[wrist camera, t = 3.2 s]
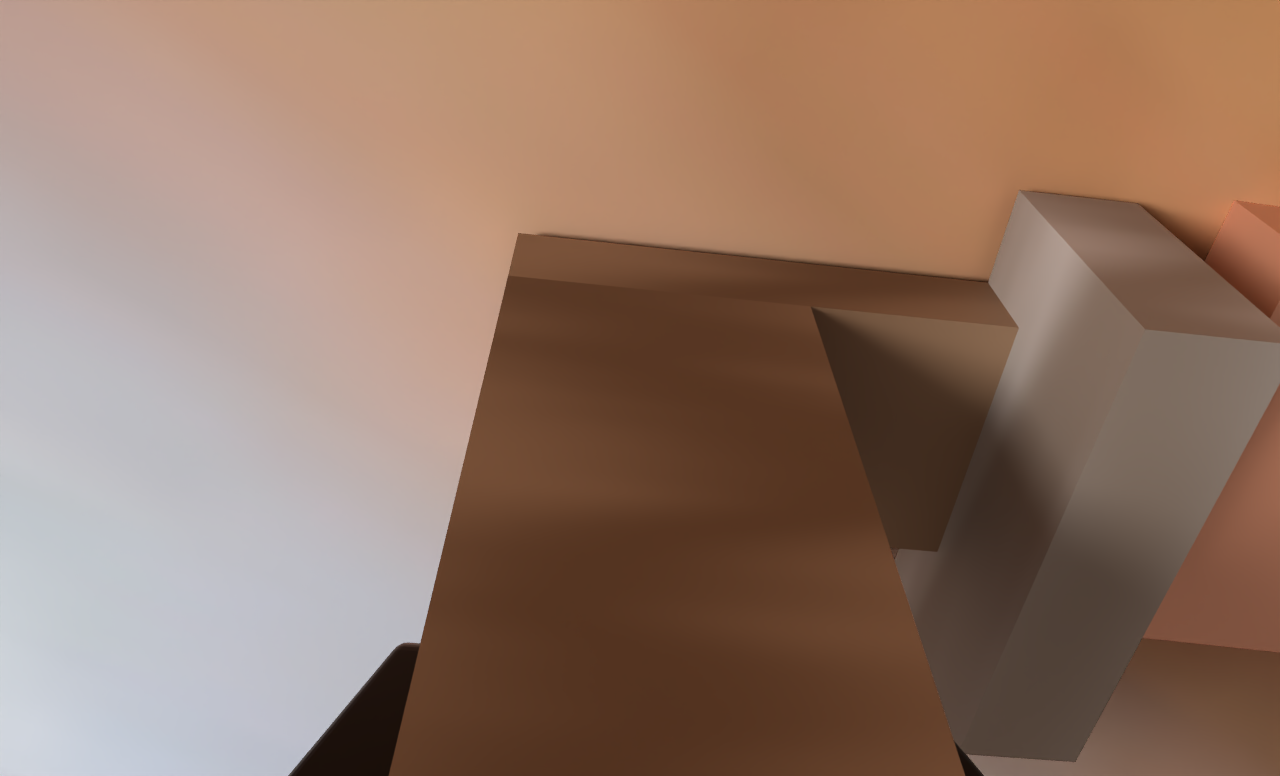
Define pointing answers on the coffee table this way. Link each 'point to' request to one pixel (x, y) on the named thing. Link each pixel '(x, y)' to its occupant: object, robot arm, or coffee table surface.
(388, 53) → the coffee table surface
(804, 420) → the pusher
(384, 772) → the robot arm
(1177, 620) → the tile
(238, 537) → the coffee table surface
